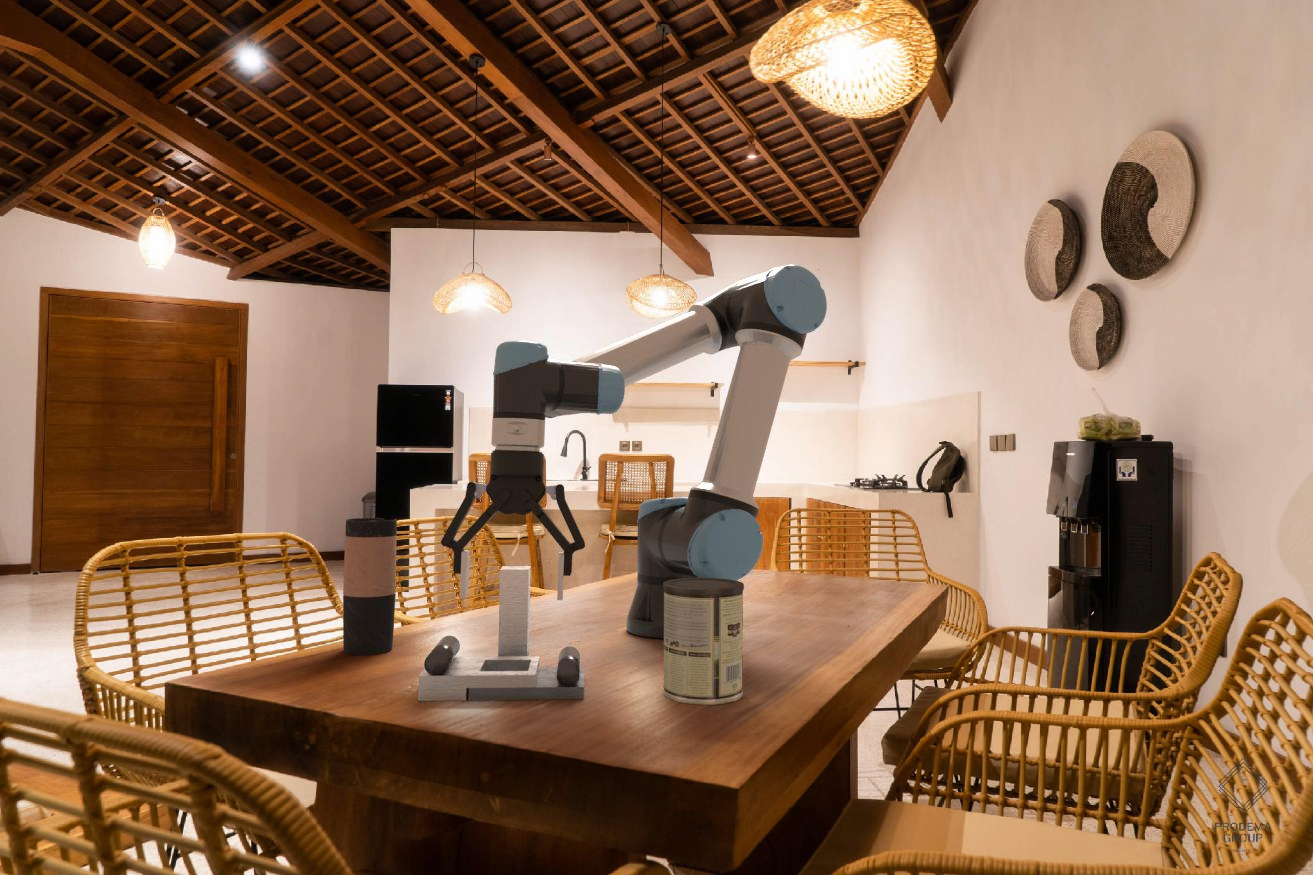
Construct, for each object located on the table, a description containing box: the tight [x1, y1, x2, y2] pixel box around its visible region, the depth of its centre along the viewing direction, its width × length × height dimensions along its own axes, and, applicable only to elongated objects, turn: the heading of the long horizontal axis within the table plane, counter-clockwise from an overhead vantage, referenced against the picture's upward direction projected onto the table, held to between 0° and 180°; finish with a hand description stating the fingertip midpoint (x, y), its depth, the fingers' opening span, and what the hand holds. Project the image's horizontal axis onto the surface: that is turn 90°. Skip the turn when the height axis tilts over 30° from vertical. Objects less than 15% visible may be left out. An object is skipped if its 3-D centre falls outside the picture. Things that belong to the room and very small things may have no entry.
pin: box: [497, 565, 531, 656], centre depth 118 cm, size 4×4×14 cm
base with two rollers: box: [417, 635, 585, 702], centre depth 106 cm, size 20×10×6 cm, turn 95°
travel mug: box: [342, 517, 398, 656], centre depth 127 cm, size 8×8×20 cm
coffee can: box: [662, 578, 745, 706], centre depth 105 cm, size 10×10×14 cm
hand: (512, 598), depth 118 cm, fingers open, 13 cm apart
